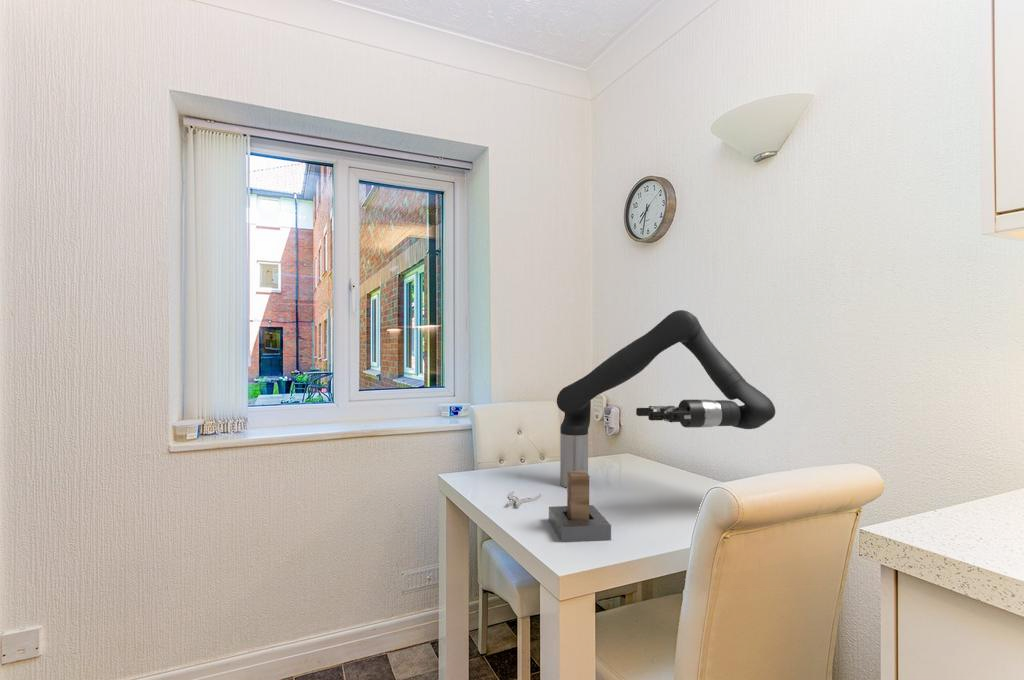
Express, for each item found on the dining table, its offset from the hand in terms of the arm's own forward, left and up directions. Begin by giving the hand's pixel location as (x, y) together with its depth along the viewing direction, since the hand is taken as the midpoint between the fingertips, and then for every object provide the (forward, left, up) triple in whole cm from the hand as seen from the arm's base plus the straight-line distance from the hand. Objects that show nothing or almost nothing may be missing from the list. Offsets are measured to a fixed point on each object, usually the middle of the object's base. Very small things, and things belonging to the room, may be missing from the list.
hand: (642, 413), depth 130 cm
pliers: (-19, -30, -29) cm, 46 cm away
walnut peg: (+5, -19, -28) cm, 34 cm away
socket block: (+6, -19, -28) cm, 34 cm away
